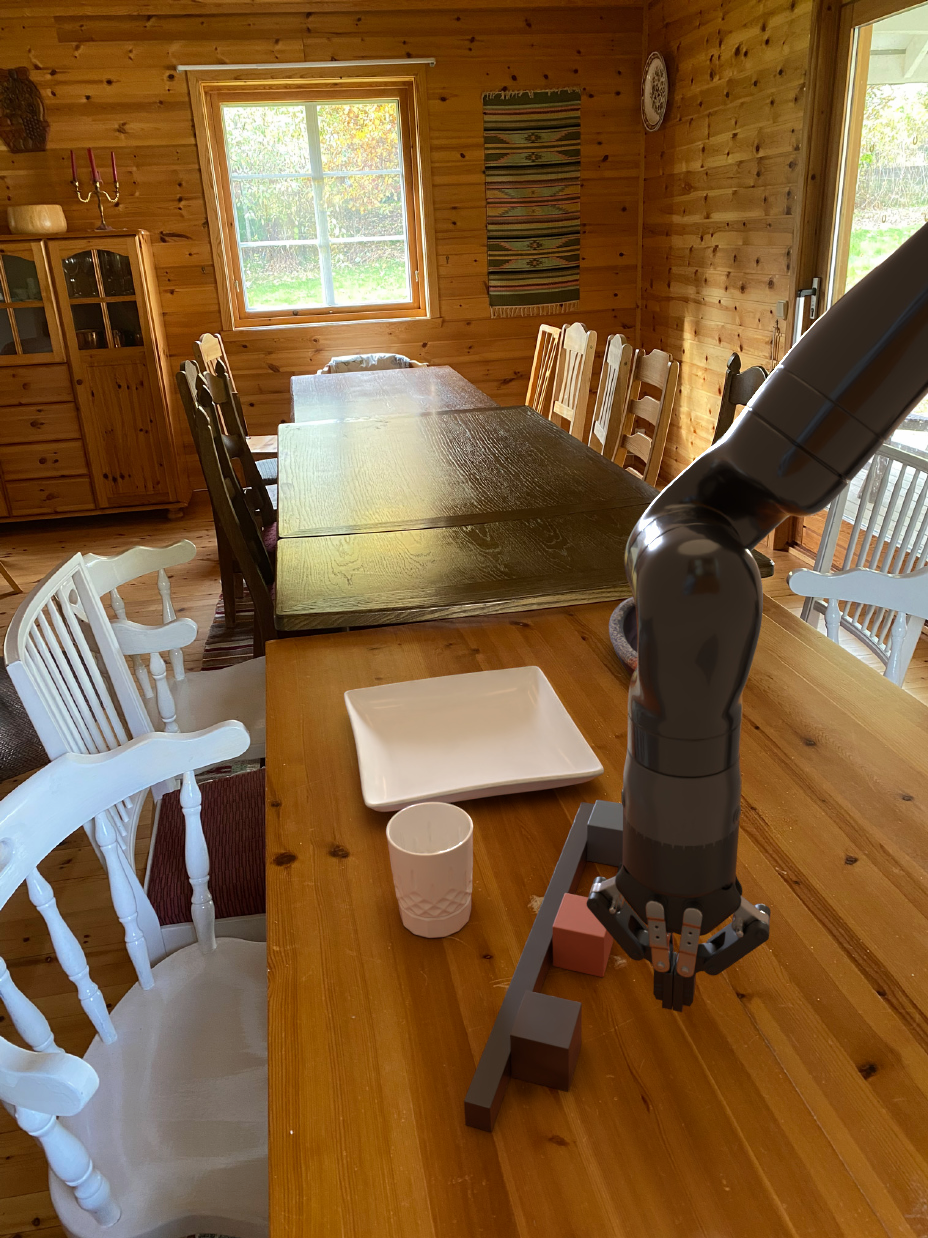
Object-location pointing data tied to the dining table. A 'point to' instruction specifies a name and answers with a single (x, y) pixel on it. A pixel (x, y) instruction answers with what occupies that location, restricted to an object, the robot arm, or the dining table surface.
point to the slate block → (605, 833)
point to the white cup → (432, 867)
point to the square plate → (465, 739)
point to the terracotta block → (580, 938)
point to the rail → (525, 980)
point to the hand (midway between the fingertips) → (673, 1001)
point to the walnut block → (546, 1040)
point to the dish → (625, 634)
